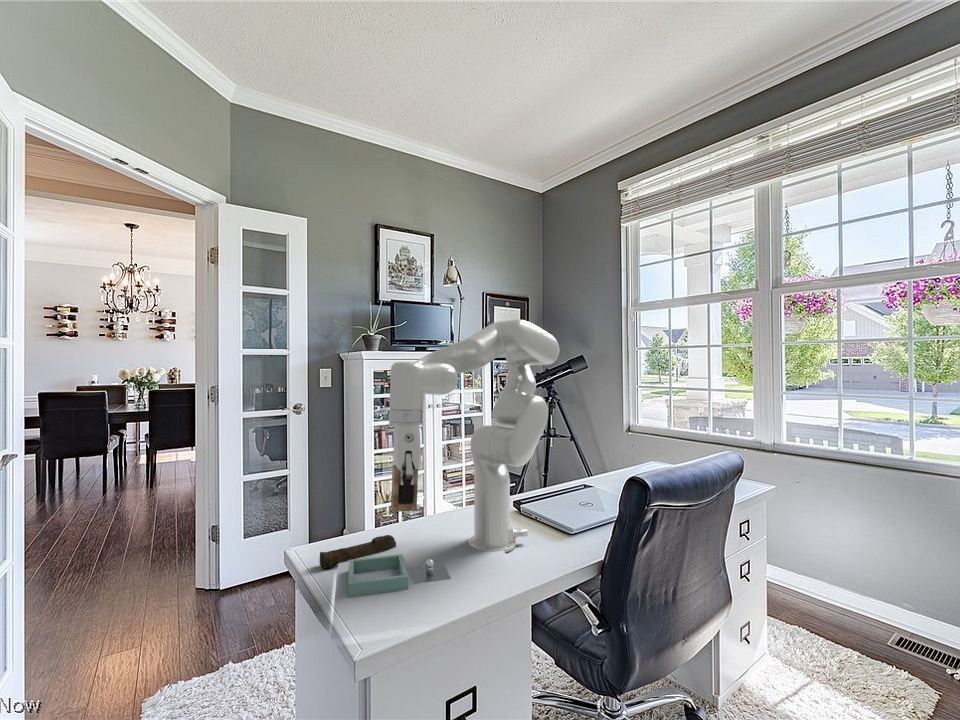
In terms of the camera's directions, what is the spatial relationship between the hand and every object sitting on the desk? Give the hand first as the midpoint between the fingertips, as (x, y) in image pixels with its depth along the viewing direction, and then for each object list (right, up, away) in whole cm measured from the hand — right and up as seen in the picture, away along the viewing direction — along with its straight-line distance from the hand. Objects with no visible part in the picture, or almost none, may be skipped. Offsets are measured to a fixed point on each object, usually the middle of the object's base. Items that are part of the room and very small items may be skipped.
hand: (404, 499), depth 99 cm
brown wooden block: (0, -2, 0) cm, 2 cm away
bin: (-6, -18, -2) cm, 19 cm away
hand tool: (-13, -19, +12) cm, 26 cm away
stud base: (+6, -18, +2) cm, 19 cm away
